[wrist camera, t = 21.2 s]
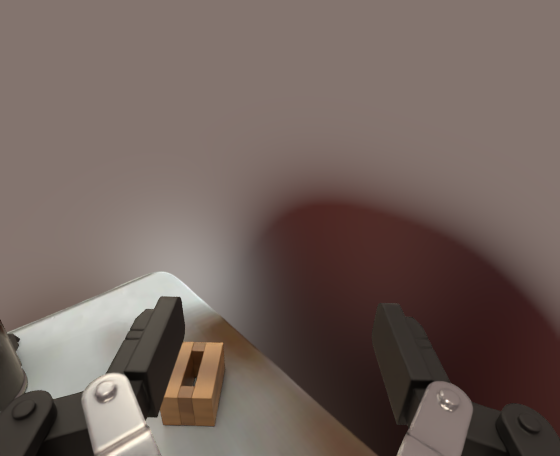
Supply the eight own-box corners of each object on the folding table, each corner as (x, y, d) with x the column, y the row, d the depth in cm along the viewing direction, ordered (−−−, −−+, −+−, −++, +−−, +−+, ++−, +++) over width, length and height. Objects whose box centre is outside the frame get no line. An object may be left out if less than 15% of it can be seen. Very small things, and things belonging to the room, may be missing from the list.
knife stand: (181, 367, 46) (177, 341, 44) (225, 368, 46) (223, 342, 44) (163, 425, 39) (156, 397, 37) (214, 426, 39) (211, 398, 37)
